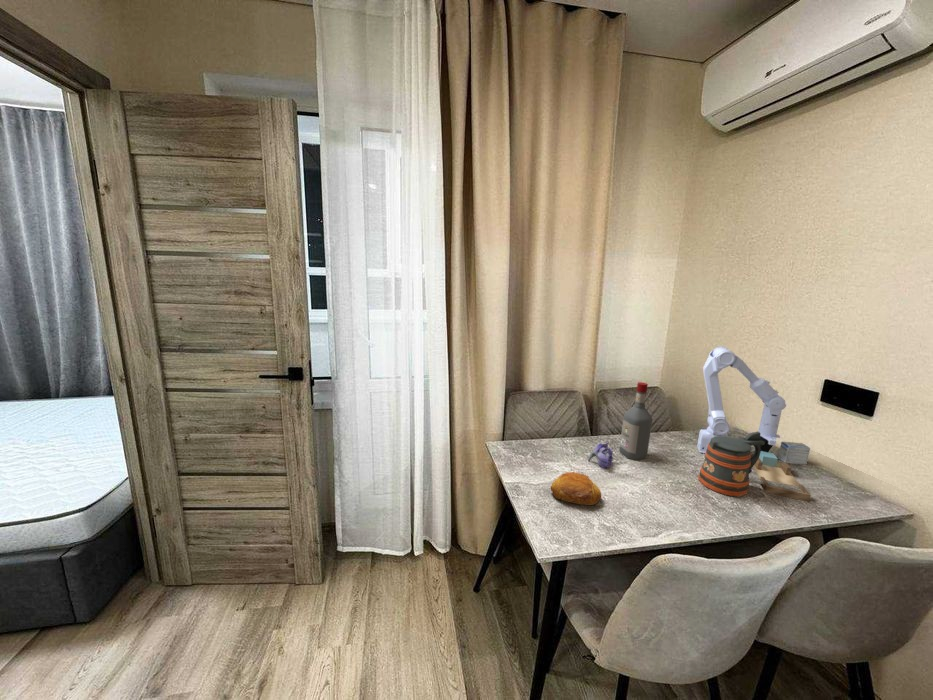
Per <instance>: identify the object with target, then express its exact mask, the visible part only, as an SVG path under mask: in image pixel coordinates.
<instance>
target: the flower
mask: <svg viewBox="0 0 933 700" xmlns="http://www.w3.org/2000/svg"><path fill="white" fill-rule="evenodd" d="M608 446H609V442H604V443H599V444H597V446H596V447H595V448H594V450H593V451H592V453H590V455H589V456H588V458H587V461H588V462H591V460H592V458H594V457H596V459H597V464H598V465H599V466H600V467H601V468H603V469H608V468H611V467H613V461H614V457H613V452H614V451H613V450H612V448H610V447H608Z"/></svg>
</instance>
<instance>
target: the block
mask: <svg viewBox="0 0 933 700" xmlns="http://www.w3.org/2000/svg"><path fill="white" fill-rule="evenodd" d="M759 458H760V460H761V461H762V462H763V464H762V465H767V466H772V467H776V465H777V462H778V460H779V458H778V456H776V455H775V453H774V452H773V453H772V452H770V451H769V452H763V451H761V452H760V456H759Z"/></svg>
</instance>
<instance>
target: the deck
mask: <svg viewBox="0 0 933 700" xmlns="http://www.w3.org/2000/svg"><path fill="white" fill-rule="evenodd" d="M762 464H763V462H762V461H761V460H760V458H758V460H757V462H756V463H755V464H754V466H753V467H752V468H753V470H754V471H755V473H756V475H757V477H758V478H759V479H760V481H761V483H759V484H760V486H761V488H762V489H763V491H764V493H765V494H766V493H767V494H770V495H775V496H778V497H779V496H780V497H785V498H790V499H793V500H794V499H795V500H799V501H804V502H808V503H809V502H810V500H811V496H812V495H811V493H810V492H809V491H808V490H807V489H806V487H805V486H804V485H803V484H800V483H799V481H798V480H797V479H796V477H795V476H794V475H793V473H791V472H792V466H791V465H789V464H790V463H787V462H783V461H782V462H779V461H777V465H776V467H772V466H767V465H762ZM768 481H769V482H774V483H779V484H783V485H789V486H794V487H798V488H799V490H800V491H798V490H793V489H788V488H784V487H779V486H774V485H770V484H769V482H768Z"/></svg>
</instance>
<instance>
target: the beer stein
mask: <svg viewBox="0 0 933 700" xmlns="http://www.w3.org/2000/svg"><path fill="white" fill-rule="evenodd" d="M764 444H765V442H764V441H761V440H760V432H758V431H754V432H750V433H748V434H747V435H746V436H745V437H742V436H741V437H737V438H735V437H732V436H731V437H730V436H727V437H726V436H716V437H713V438H711V441H710V442H709V443H708V447H707V450H706V453H704V455H705V456H704V457H705V458H704V460H703V464H702V465H701V466H700V469H699V470H700V471H699V474H698V480H699V482H700V484H702V485H703V486H704V487H706V488H708V489H709V490H712V492H715V493H718V494H721V495H725V496H728V497H742V496H745V495H746V494H748V493H749V485H750V477H749V476H750V474H751V473H752V472H753V471H752V470H753V469H752V468H753V466H754V464H755V463H756V462H757V460H758V458H759V456H760V452H761V448H760V445H764ZM752 446H754V452H753V453H751V451H752Z"/></svg>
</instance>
